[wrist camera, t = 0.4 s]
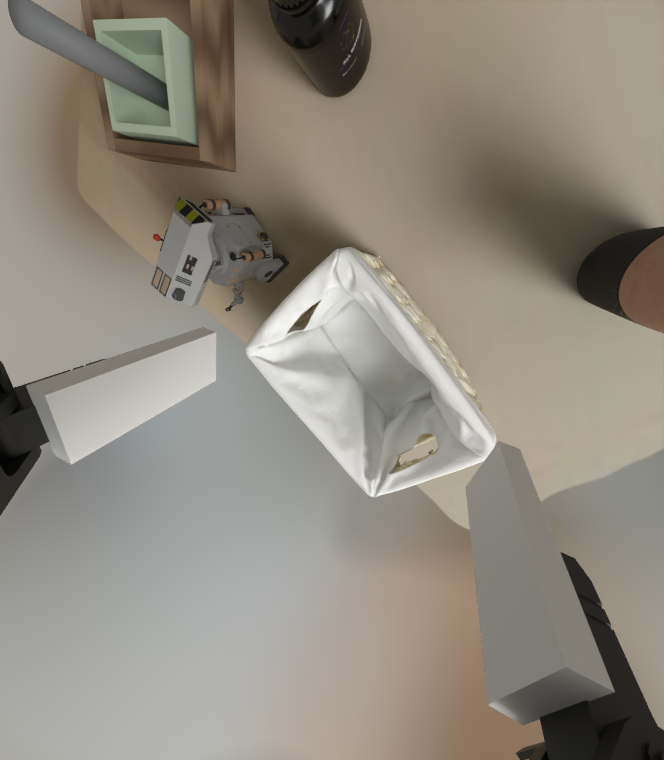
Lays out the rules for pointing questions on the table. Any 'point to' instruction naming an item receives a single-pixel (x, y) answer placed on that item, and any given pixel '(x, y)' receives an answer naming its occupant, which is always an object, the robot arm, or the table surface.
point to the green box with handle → (128, 69)
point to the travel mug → (628, 277)
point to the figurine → (212, 251)
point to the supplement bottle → (326, 40)
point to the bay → (212, 78)
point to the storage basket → (371, 375)
